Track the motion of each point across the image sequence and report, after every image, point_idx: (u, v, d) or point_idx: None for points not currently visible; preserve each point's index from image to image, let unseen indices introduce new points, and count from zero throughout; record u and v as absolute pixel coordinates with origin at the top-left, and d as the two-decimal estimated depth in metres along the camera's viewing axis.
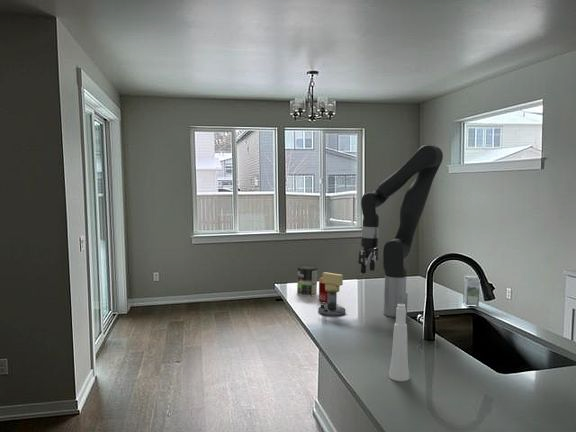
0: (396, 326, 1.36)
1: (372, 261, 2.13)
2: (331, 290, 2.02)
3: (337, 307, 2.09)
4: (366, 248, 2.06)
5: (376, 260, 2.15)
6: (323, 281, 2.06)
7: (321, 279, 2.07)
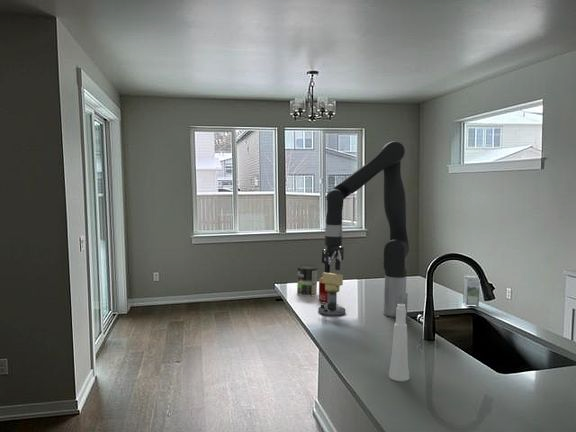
0: (396, 326, 1.36)
1: (337, 260, 2.08)
2: (331, 290, 2.02)
3: (337, 307, 2.09)
4: (329, 247, 2.01)
5: (342, 259, 2.09)
6: (323, 281, 2.06)
7: (321, 279, 2.07)
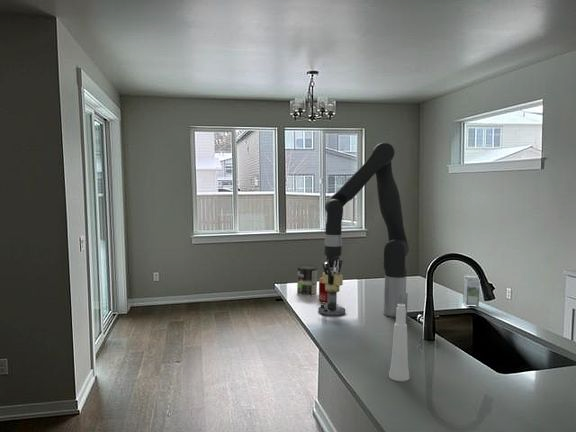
0: (396, 326, 1.36)
1: (334, 273, 2.06)
2: (331, 290, 2.02)
3: (337, 307, 2.09)
4: (329, 257, 2.01)
5: (338, 272, 2.07)
6: (323, 281, 2.06)
7: (321, 279, 2.07)
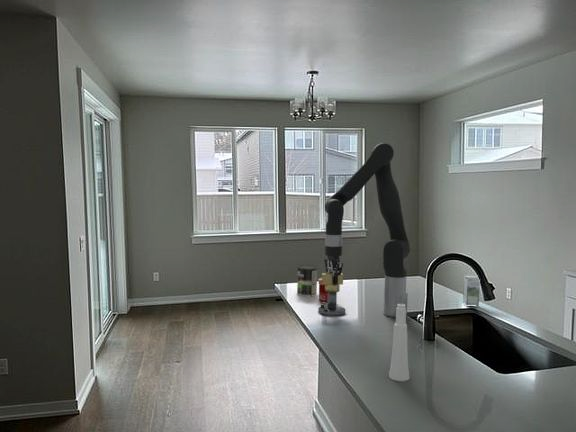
0: (396, 326, 1.36)
1: None
2: (336, 290, 2.02)
3: (337, 307, 2.09)
4: (338, 257, 2.01)
5: (331, 271, 2.08)
6: (324, 282, 2.03)
7: (321, 281, 2.03)
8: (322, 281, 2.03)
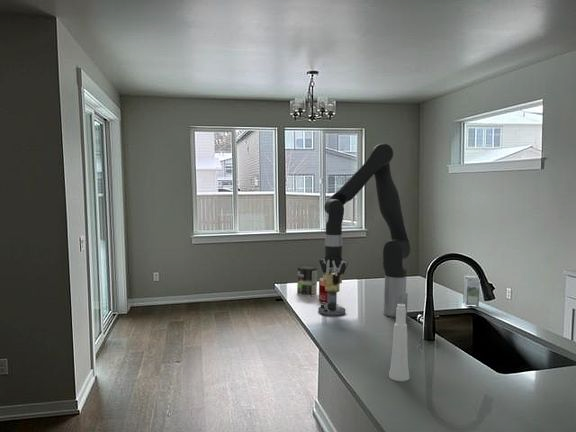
0: (396, 326, 1.36)
1: (329, 273, 2.06)
2: (338, 289, 2.04)
3: (337, 307, 2.09)
4: (341, 256, 2.03)
5: None
6: (327, 283, 2.02)
7: (325, 282, 2.01)
8: (326, 282, 2.01)
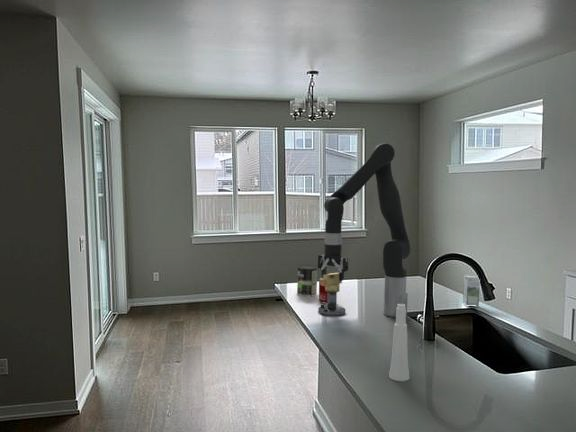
0: (396, 326, 1.36)
1: (324, 269, 2.07)
2: (338, 289, 2.04)
3: (337, 307, 2.09)
4: (340, 255, 2.02)
5: None
6: (327, 283, 2.02)
7: (325, 282, 2.01)
8: (326, 282, 2.01)
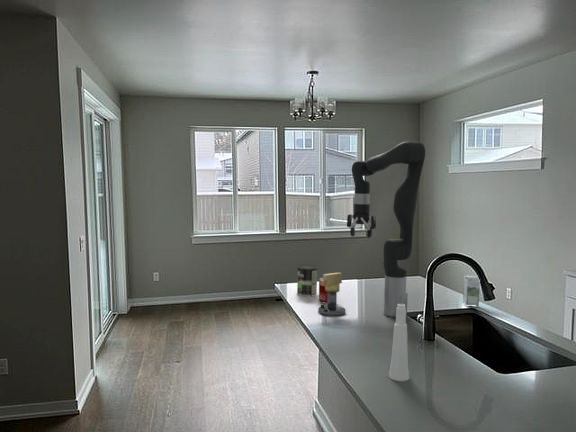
0: (396, 326, 1.36)
1: (353, 227, 2.24)
2: (338, 289, 2.04)
3: (337, 307, 2.09)
4: None
5: None
6: (327, 283, 2.02)
7: (325, 282, 2.01)
8: (326, 282, 2.01)
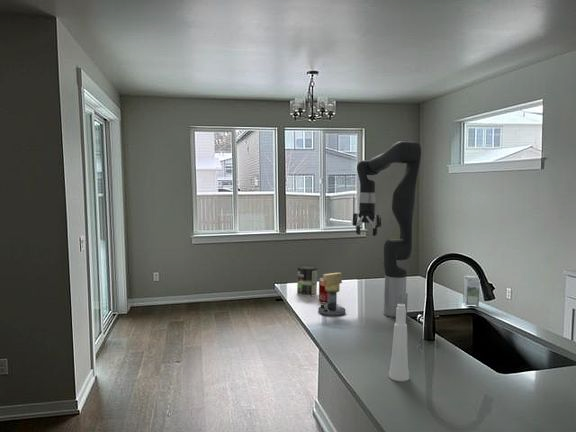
0: (396, 326, 1.36)
1: (359, 226, 2.28)
2: (338, 289, 2.04)
3: (337, 307, 2.09)
4: (374, 212, 2.23)
5: None
6: (327, 283, 2.02)
7: (325, 282, 2.01)
8: (326, 282, 2.01)
